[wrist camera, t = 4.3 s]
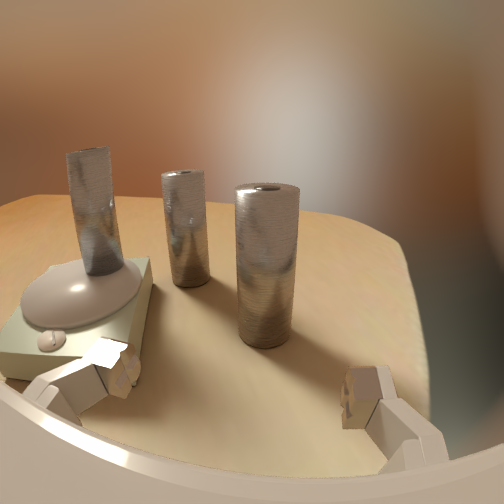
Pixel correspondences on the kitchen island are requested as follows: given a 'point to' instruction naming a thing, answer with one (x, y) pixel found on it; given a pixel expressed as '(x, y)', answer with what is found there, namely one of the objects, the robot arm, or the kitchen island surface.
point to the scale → (74, 316)
